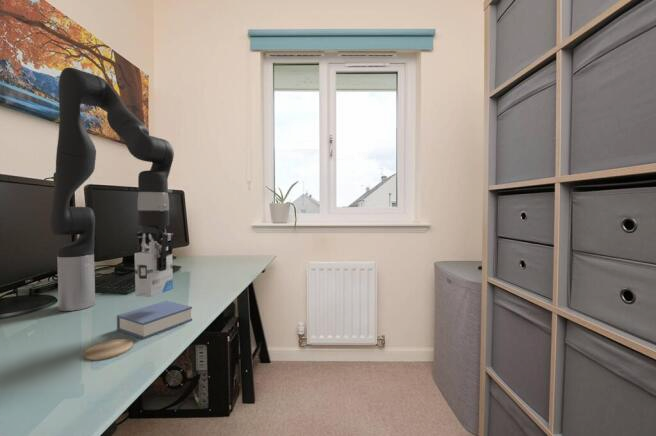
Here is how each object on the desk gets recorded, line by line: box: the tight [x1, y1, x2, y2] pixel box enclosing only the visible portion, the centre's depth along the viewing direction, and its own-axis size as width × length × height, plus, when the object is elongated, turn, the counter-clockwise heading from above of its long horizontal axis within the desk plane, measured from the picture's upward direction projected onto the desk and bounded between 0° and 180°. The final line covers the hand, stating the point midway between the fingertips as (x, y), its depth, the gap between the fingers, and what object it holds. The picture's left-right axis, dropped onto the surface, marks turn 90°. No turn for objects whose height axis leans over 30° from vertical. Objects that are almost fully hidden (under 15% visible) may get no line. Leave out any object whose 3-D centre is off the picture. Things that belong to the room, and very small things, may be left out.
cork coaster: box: [83, 338, 134, 361], centre depth 67 cm, size 9×9×1 cm
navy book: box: [116, 300, 193, 340], centre depth 82 cm, size 12×14×4 cm
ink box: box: [134, 241, 174, 298], centre depth 82 cm, size 9×5×15 cm, turn 168°
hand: (154, 269), depth 82 cm, fingers closed on ink box, 5 cm apart
